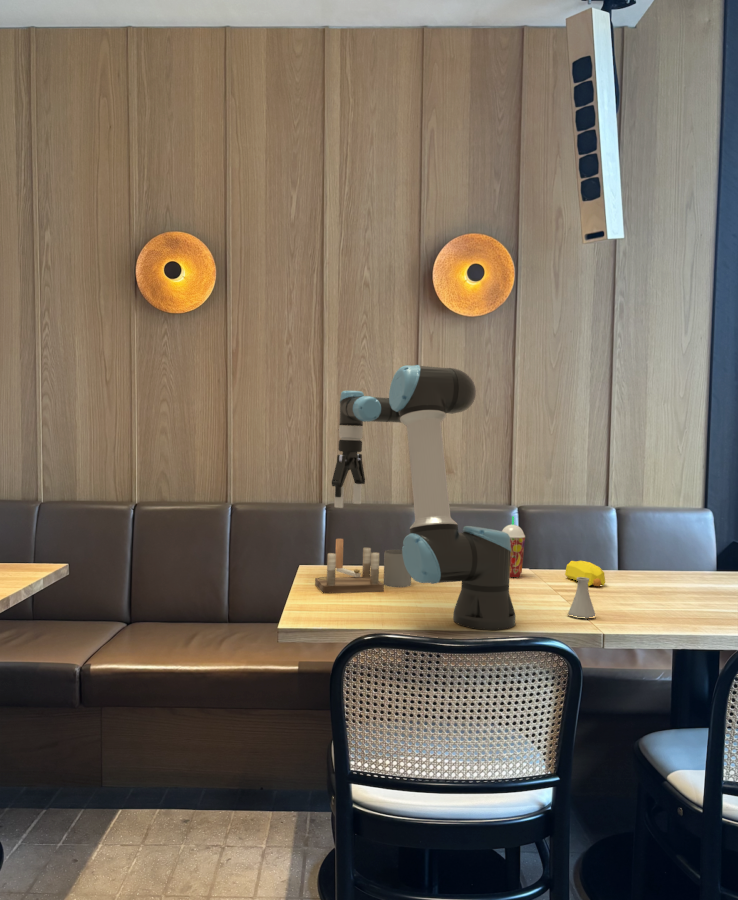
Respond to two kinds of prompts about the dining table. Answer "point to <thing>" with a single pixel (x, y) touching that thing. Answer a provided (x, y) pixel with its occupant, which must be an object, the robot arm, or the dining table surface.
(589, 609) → the flask
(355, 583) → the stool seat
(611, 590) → the dining table surface
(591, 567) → the yellow lumpy oval
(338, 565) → the crank handle
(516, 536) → the smoothie
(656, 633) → the dining table surface
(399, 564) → the cup
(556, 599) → the dining table surface
